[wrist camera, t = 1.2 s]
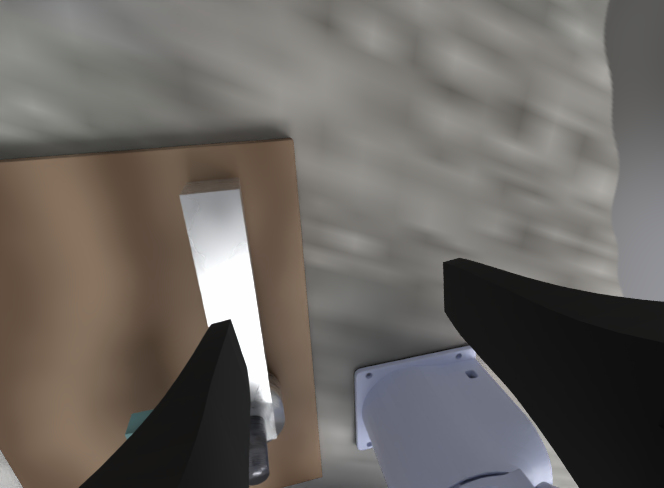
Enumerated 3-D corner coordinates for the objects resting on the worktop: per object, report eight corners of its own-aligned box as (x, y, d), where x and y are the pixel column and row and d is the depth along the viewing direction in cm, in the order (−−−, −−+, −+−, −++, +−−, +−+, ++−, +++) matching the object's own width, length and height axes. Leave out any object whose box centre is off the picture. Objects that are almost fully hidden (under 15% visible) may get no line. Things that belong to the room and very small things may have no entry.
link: (283, 407, 23) (294, 489, 19) (226, 420, 23) (223, 508, 18) (251, 176, 17) (256, 208, 13) (173, 183, 17) (146, 220, 12)
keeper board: (290, 137, 18) (308, 153, 14) (319, 464, 28) (335, 539, 24) (-140, 170, 15) (-319, 206, 10) (65, 530, 25) (24, 634, 20)
